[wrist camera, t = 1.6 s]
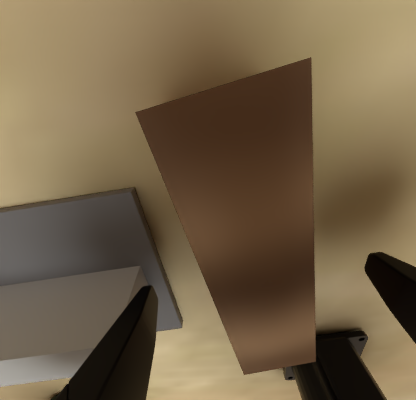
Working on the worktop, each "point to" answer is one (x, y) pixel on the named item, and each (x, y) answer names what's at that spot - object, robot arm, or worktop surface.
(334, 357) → the robot arm
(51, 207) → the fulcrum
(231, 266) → the plank
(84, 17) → the worktop surface
